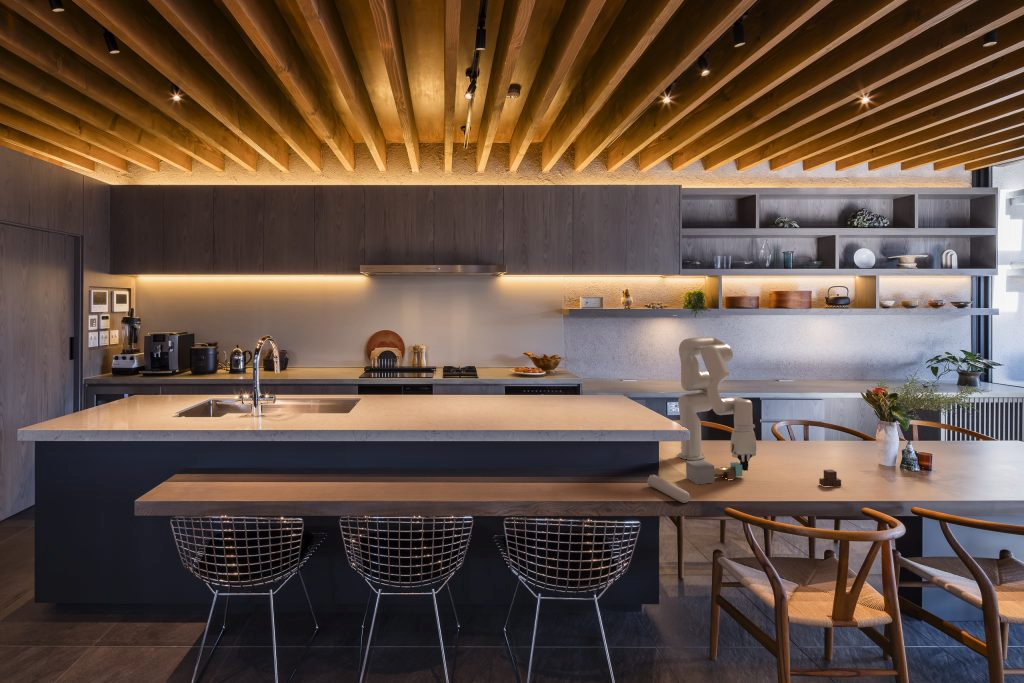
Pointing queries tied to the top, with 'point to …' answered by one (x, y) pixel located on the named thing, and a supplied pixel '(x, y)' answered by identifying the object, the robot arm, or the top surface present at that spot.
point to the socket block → (700, 472)
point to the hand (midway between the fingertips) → (744, 469)
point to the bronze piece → (734, 467)
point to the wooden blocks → (830, 478)
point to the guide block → (729, 474)
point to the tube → (668, 489)
